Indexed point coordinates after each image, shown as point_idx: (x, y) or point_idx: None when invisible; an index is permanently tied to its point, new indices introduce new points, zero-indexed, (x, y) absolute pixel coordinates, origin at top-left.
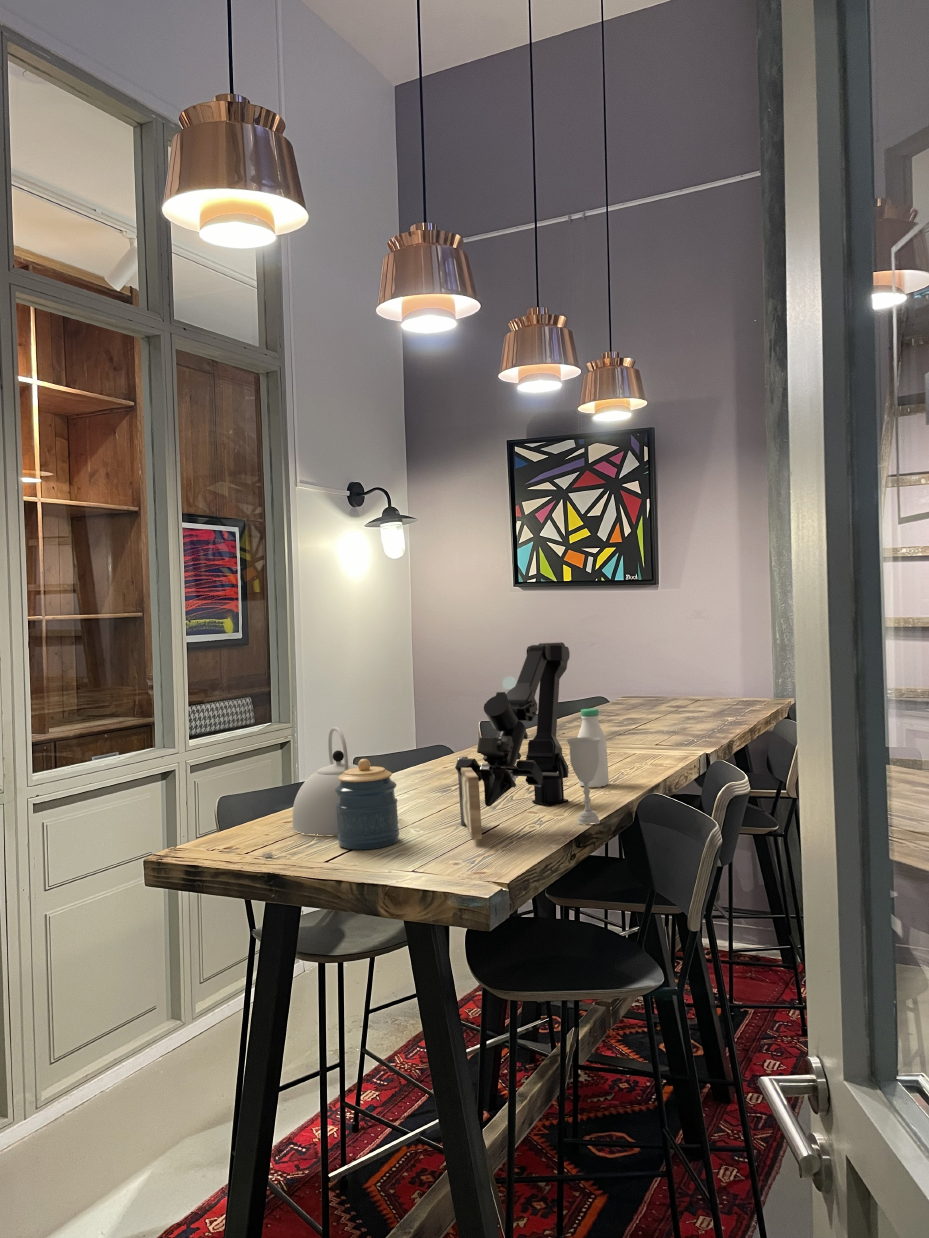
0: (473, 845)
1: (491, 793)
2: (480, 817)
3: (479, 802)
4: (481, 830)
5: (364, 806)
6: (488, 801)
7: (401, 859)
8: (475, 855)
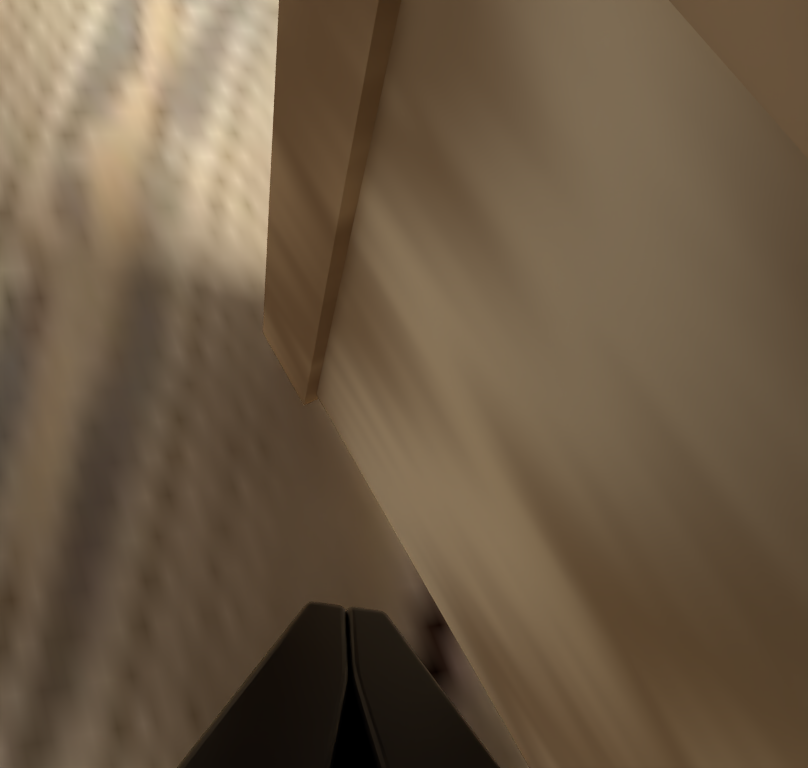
0: None
1: (274, 729)
2: (272, 196)
3: (283, 34)
4: (265, 286)
5: None
6: (316, 624)
7: None
8: (215, 85)
